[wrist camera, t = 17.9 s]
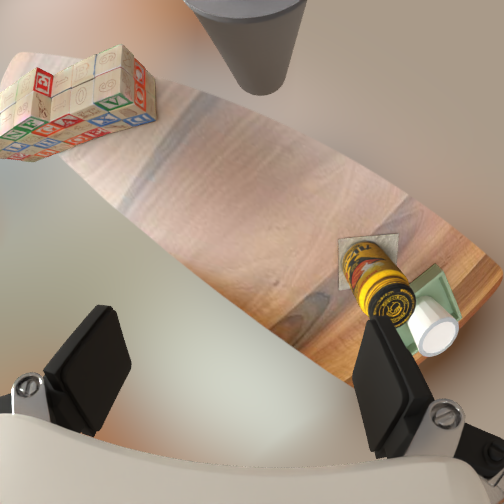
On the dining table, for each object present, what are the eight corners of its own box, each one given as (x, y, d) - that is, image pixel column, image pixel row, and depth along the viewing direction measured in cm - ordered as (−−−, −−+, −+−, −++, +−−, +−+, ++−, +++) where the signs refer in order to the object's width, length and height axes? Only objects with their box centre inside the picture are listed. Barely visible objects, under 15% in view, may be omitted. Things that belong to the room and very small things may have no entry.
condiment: (337, 238, 36) (365, 283, 25) (398, 233, 35) (442, 272, 24) (338, 289, 38) (360, 345, 27) (394, 282, 38) (430, 332, 26)
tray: (375, 308, 39) (381, 318, 37) (435, 263, 36) (443, 270, 34) (403, 349, 42) (408, 358, 40) (455, 309, 39) (462, 317, 37)
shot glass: (410, 336, 40) (426, 364, 34) (394, 310, 39) (411, 339, 32) (443, 311, 38) (463, 336, 32) (430, 283, 37) (452, 308, 30)
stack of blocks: (156, 77, 29) (109, 28, 17) (157, 121, 30) (103, 83, 18) (34, 125, 31) (-23, 109, 19) (32, 163, 32) (-29, 156, 20)
